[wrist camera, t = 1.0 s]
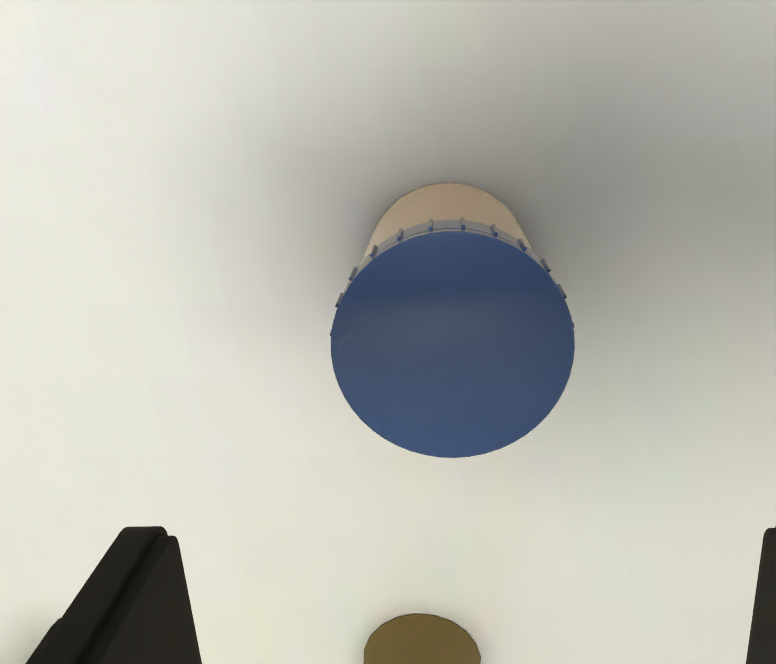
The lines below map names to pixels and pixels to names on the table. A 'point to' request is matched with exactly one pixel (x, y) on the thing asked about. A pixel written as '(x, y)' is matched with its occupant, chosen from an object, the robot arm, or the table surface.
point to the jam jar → (445, 211)
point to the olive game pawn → (421, 642)
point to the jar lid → (452, 339)
